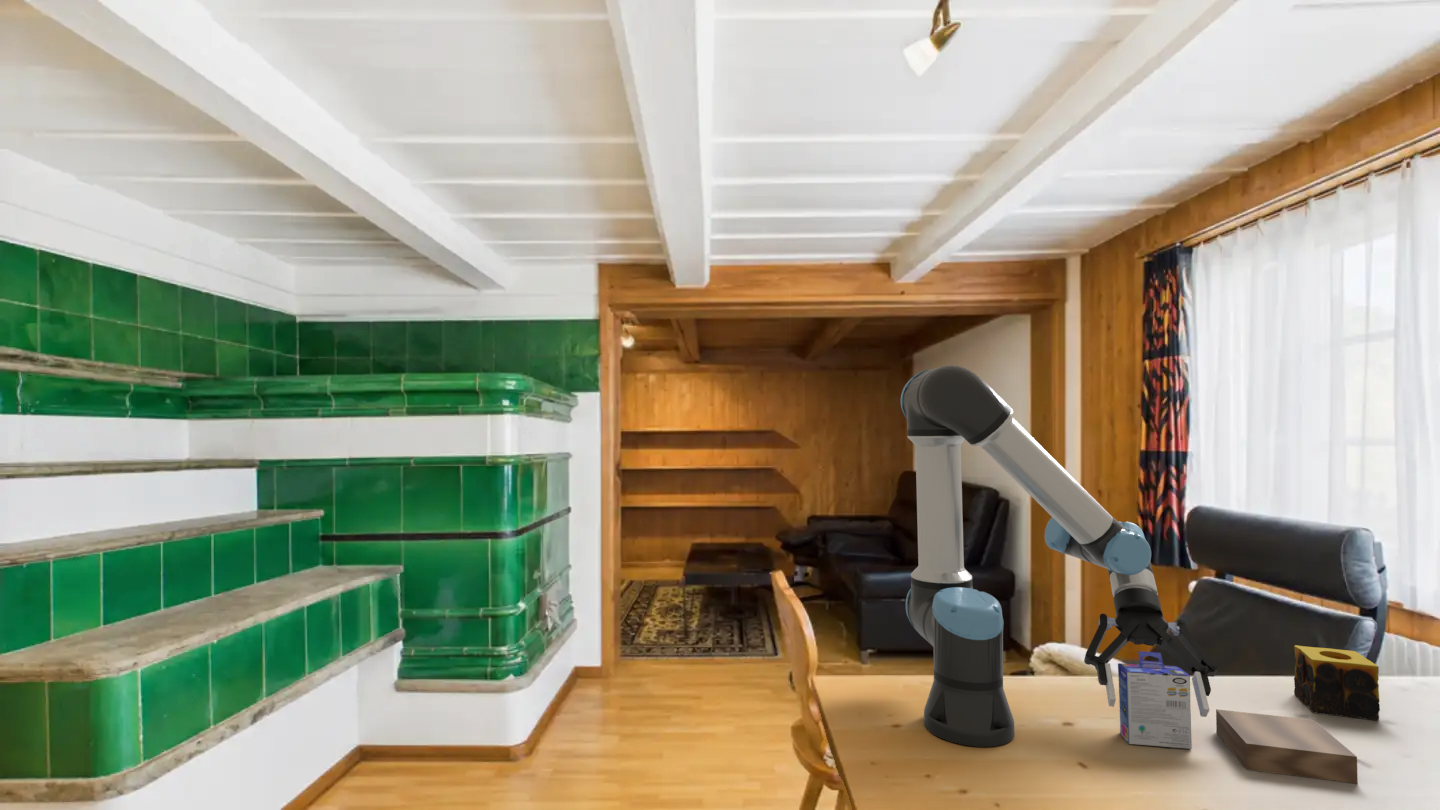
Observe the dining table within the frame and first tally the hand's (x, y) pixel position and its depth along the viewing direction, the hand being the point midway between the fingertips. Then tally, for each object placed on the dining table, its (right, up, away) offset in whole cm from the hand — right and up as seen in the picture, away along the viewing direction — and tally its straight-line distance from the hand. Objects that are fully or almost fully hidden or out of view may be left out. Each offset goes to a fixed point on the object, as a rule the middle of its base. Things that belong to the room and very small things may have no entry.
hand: (1158, 708), depth 120 cm
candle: (+43, -7, +16) cm, 47 cm away
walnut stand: (+18, -6, -4) cm, 19 cm away
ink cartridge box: (+1, -7, +2) cm, 7 cm away
